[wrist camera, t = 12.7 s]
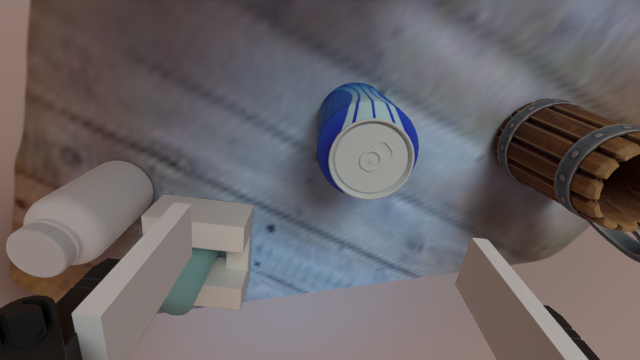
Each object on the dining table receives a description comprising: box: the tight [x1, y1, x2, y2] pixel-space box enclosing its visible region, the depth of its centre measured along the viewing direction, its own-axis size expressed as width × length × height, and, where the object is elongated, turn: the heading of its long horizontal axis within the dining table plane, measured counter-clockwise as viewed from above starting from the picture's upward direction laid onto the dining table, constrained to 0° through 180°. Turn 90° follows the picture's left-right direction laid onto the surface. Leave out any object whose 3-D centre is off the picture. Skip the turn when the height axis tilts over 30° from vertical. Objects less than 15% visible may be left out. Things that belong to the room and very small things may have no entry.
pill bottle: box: [6, 161, 154, 278], centre depth 37 cm, size 8×8×15 cm
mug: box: [495, 99, 640, 262], centre depth 35 cm, size 16×11×15 cm
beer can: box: [317, 83, 419, 200], centre depth 33 cm, size 8×8×16 cm
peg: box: [160, 247, 219, 315], centre depth 41 cm, size 4×4×12 cm
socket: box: [141, 194, 254, 310], centre depth 44 cm, size 13×12×6 cm
